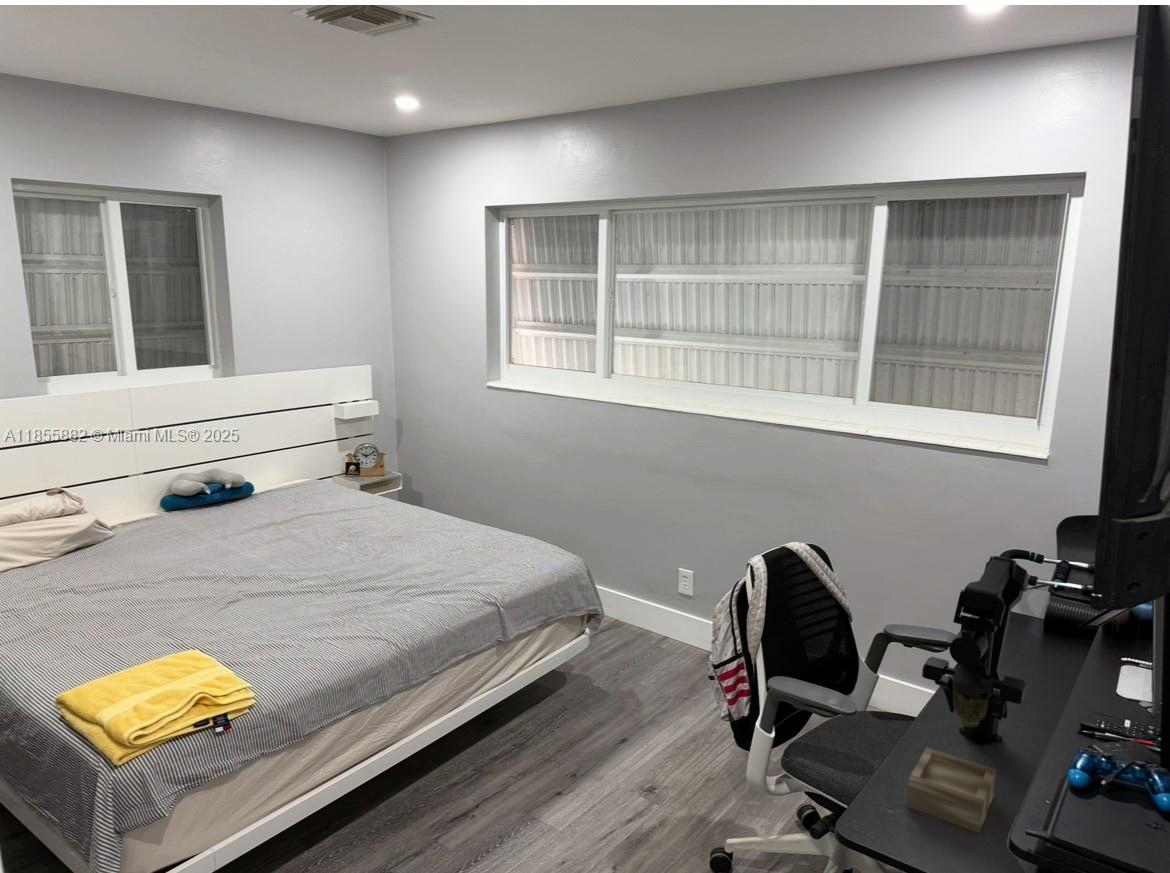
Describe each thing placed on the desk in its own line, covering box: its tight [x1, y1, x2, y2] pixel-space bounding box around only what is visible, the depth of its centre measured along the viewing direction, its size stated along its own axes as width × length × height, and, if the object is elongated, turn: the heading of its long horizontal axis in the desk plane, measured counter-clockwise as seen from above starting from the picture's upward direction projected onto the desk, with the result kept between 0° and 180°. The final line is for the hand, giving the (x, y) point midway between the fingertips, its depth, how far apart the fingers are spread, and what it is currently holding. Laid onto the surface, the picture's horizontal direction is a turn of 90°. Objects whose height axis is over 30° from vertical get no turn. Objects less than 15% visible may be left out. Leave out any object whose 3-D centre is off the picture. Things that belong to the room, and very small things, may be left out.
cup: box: [952, 686, 992, 728], centre depth 168 cm, size 8×7×8 cm
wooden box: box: [906, 746, 997, 834], centre depth 158 cm, size 13×13×6 cm
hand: (969, 716), depth 168 cm, fingers closed on cup, 6 cm apart
